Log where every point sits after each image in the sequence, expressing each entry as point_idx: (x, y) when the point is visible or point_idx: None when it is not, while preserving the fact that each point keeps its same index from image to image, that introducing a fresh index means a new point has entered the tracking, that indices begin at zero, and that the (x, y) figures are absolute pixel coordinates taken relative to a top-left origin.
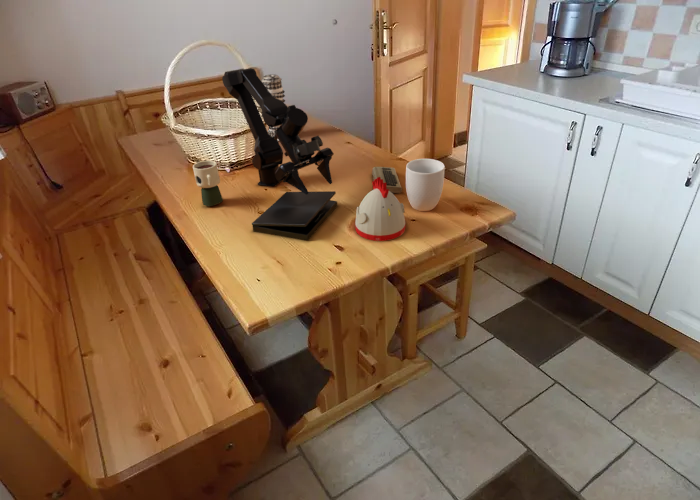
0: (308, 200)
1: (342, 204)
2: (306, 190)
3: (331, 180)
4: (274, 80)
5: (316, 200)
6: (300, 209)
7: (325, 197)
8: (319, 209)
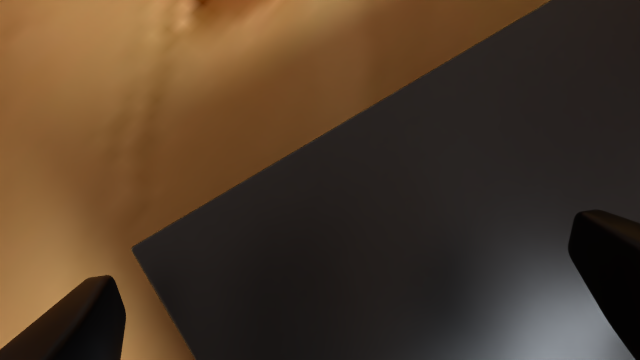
0: (479, 316)
1: (117, 265)
2: (622, 224)
3: (77, 293)
4: None
5: (421, 229)
6: (637, 190)
7: (314, 201)
8: (503, 28)
